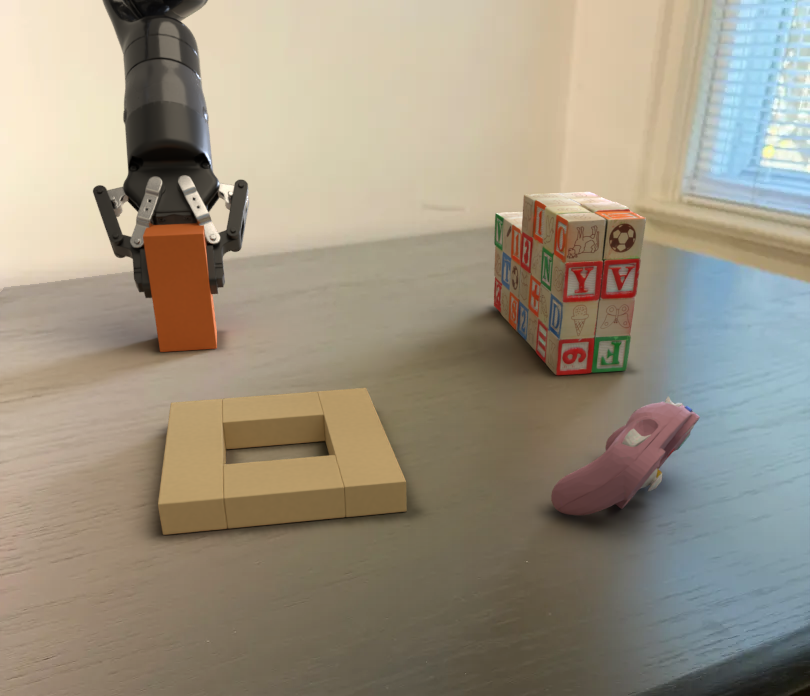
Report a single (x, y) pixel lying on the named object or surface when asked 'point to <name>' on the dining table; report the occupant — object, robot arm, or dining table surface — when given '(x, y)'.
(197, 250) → the upright block
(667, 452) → the pink curved elongated piece
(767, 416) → the dining table surface
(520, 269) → the stack of blocks
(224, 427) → the base pad
